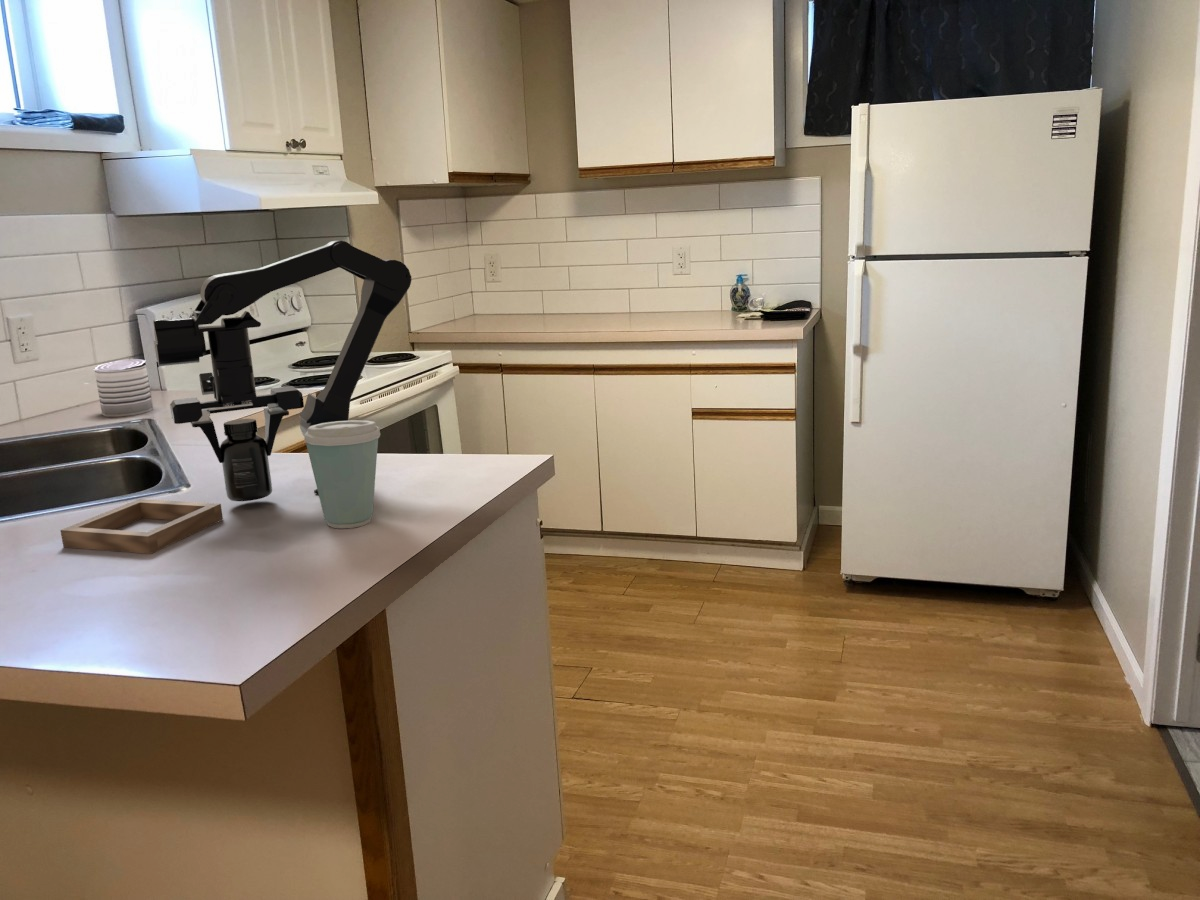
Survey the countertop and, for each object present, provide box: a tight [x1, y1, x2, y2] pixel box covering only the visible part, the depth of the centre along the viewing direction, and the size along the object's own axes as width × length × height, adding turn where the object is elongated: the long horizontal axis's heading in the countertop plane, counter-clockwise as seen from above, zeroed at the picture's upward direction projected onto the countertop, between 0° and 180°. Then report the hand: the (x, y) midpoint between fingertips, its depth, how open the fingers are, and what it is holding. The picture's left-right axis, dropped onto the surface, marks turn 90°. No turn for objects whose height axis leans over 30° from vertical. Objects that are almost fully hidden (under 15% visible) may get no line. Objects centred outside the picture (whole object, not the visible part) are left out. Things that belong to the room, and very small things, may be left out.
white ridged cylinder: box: [92, 358, 154, 418], centre depth 235 cm, size 11×11×12 cm
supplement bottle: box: [219, 418, 273, 502], centre depth 152 cm, size 7×7×12 cm
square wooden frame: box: [59, 498, 224, 555], centre depth 141 cm, size 15×15×2 cm
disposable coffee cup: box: [303, 419, 381, 529], centre depth 141 cm, size 11×11×15 cm
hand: (245, 458), depth 152 cm, fingers closed on supplement bottle, 7 cm apart
